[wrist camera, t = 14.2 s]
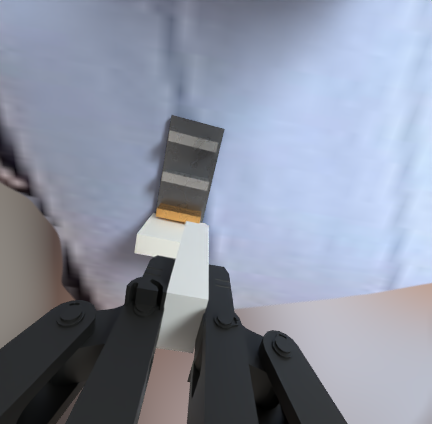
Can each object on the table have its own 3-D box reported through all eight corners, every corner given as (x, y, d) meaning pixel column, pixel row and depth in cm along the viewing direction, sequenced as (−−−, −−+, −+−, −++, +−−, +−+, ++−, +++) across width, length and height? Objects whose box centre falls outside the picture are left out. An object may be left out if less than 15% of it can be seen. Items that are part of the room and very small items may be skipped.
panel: (153, 212, 31) (137, 233, 24) (206, 223, 32) (206, 247, 24) (150, 228, 31) (134, 253, 24) (202, 238, 32) (201, 265, 25)
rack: (172, 115, 28) (168, 112, 24) (223, 129, 28) (226, 127, 25) (151, 247, 33) (145, 259, 30) (193, 255, 34) (192, 268, 31)
